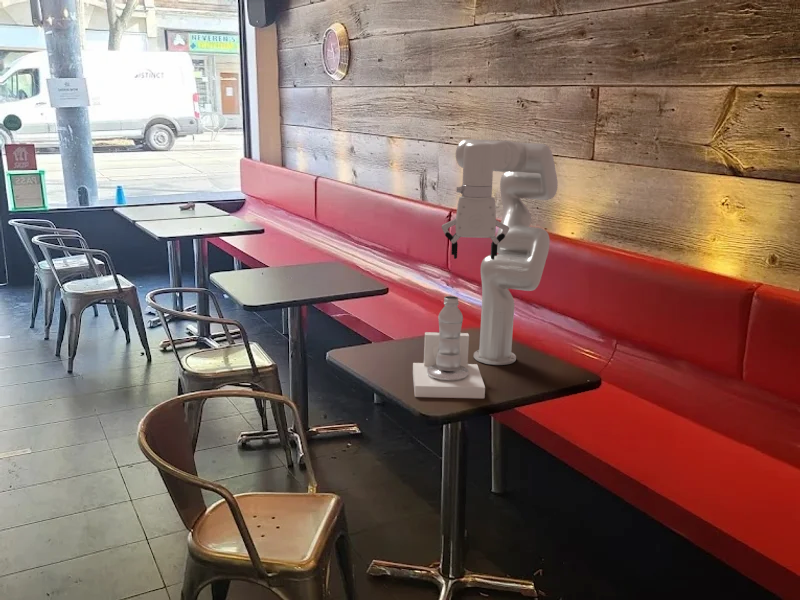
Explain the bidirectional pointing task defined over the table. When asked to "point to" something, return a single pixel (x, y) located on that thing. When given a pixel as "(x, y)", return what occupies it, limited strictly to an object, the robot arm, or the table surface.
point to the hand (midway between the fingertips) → (473, 258)
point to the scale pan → (447, 373)
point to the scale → (446, 389)
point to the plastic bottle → (449, 335)
